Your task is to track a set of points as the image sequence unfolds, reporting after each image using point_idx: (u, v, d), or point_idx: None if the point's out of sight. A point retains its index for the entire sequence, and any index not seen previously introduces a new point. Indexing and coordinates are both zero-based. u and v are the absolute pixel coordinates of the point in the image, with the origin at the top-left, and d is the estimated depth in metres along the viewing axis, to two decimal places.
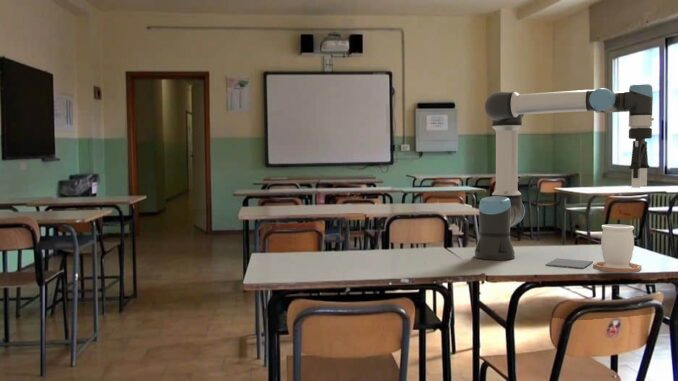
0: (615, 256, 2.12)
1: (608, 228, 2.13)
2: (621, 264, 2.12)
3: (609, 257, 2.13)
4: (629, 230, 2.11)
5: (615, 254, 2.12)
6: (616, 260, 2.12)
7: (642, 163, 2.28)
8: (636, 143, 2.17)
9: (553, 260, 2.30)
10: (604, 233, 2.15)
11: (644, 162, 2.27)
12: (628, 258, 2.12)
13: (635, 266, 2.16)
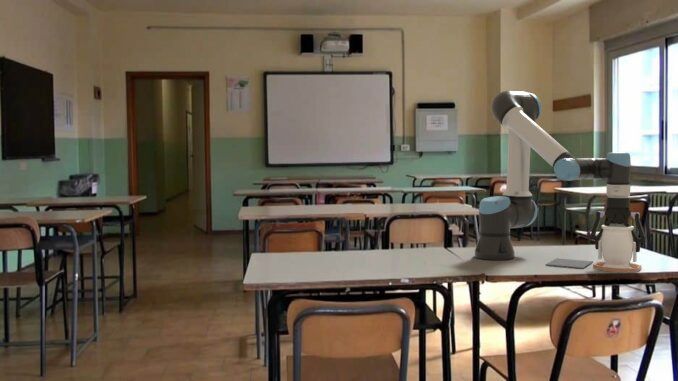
0: (615, 256, 2.12)
1: (608, 228, 2.13)
2: (621, 264, 2.12)
3: (609, 257, 2.13)
4: (629, 230, 2.11)
5: (615, 254, 2.12)
6: (616, 260, 2.12)
7: None
8: None
9: (553, 260, 2.30)
10: (604, 233, 2.15)
11: None
12: (628, 258, 2.11)
13: (635, 266, 2.16)
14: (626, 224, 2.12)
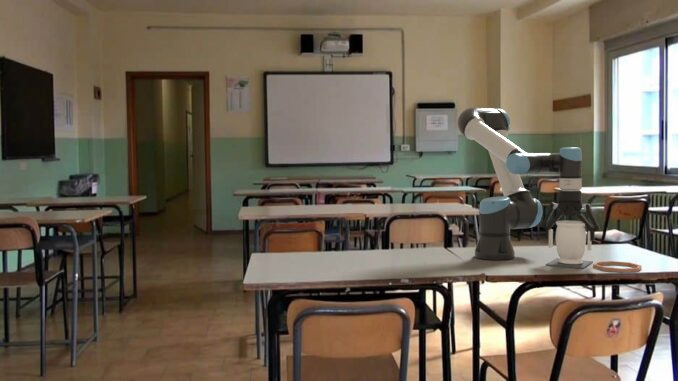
0: (568, 251, 2.20)
1: (561, 224, 2.21)
2: (573, 259, 2.21)
3: (562, 252, 2.22)
4: (581, 226, 2.19)
5: (568, 249, 2.20)
6: (569, 255, 2.21)
7: None
8: None
9: (553, 260, 2.30)
10: (558, 229, 2.23)
11: None
12: (580, 253, 2.20)
13: (635, 266, 2.16)
14: (579, 215, 2.21)
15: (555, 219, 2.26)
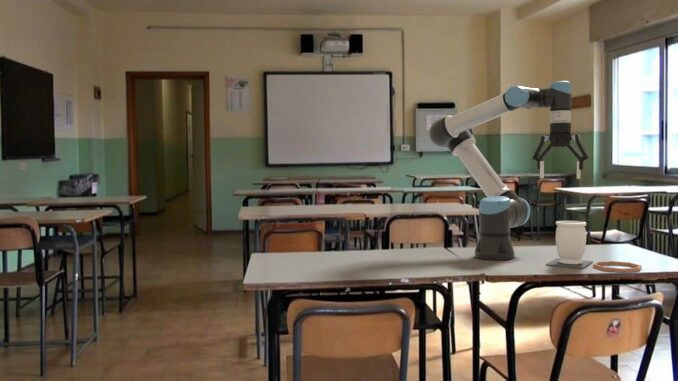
0: (568, 251, 2.20)
1: (561, 224, 2.21)
2: (573, 259, 2.21)
3: (562, 252, 2.22)
4: (581, 226, 2.19)
5: (568, 249, 2.20)
6: (569, 255, 2.21)
7: None
8: None
9: (553, 260, 2.30)
10: (558, 229, 2.23)
11: None
12: (580, 253, 2.20)
13: (635, 266, 2.16)
14: (568, 146, 2.32)
15: (546, 151, 2.37)
